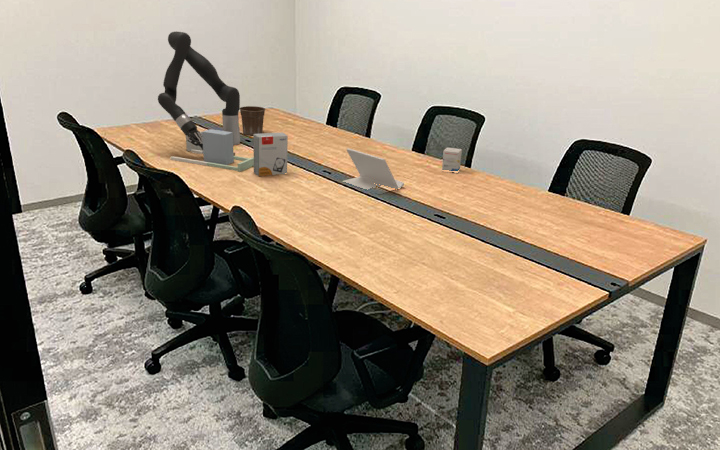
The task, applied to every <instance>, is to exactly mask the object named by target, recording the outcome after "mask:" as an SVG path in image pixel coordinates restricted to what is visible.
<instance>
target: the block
mask: <svg viewBox="0 0 720 450" xmlns="http://www.w3.org/2000/svg"><path fill="white" fill-rule="evenodd" d="M202 138H203V150H202V151H203V154H202V155H203V161H204V162H210V163H216V164H222V165H228V166H229V165H230V164H232V163H234V162H235V159H234V153H235V152H234V145H233V132H226V131H223V130H218V129H212V128H209V129H206V130H203V131H202Z"/></svg>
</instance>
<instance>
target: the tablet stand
mask: <svg viewBox="0 0 720 450" xmlns="http://www.w3.org/2000/svg"><path fill="white" fill-rule="evenodd" d="M345 150H346V152H347V154H348V155H349V157H350V159H351V161H352V162H353V164H354V166H355V169H356V170H357V172H358V174H359V176H357V177H353V178H349V179H345V180H342V183H343V182H346V183H349V184H352V185H354V186H357V187H360V188H363V189H367V190H368V189H370V188H372V187H373V188H375V187H376V186H378V187H380V186H381V185H384V186H388V187H391V188H395V189H398V188H401V187H404V185H405V183H404V182H403V181H401V180H398V179H395V178H394V175H393V174H392V171H391V168H390V167H389V165H388V163H387V161H386V159H385V158H382V157H379V156H376V155H372V154H369V153H366V152H362V151H360V150H355V149H353V148H348V147H347V148H346V149H345ZM346 183H345V184H346ZM374 183H375V184H374ZM376 184H377V185H376ZM379 184H380V185H379ZM354 186H353V187H354ZM357 187H356V188H357ZM378 187H377V188H378ZM360 188H359V189H360ZM363 189H362V190H363ZM401 189H402V188H401Z"/></svg>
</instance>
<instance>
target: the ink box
mask: <svg viewBox="0 0 720 450" xmlns="http://www.w3.org/2000/svg"><path fill="white" fill-rule="evenodd" d="M462 153H463V149H461V148H455V147H446V148H445V149H443V153H442V154H443V155H442V163H441V164H442V166H441V171H442V170H449V171H458V170H459V169H460V170H461V162H462Z"/></svg>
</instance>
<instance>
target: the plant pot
mask: <svg viewBox="0 0 720 450" xmlns="http://www.w3.org/2000/svg"><path fill="white" fill-rule="evenodd" d="M239 111H240V115H241V116H240V117H241V123H242V124H241V126H242V133H243V135H244V136H245V135H246V136H253V134H262V133H263V129H264V119H265V118H264V117H265V112H266V108H265V107H262V106H255V105H253V106H252V105H251V106H250V105H248V106H240V109H239Z"/></svg>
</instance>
